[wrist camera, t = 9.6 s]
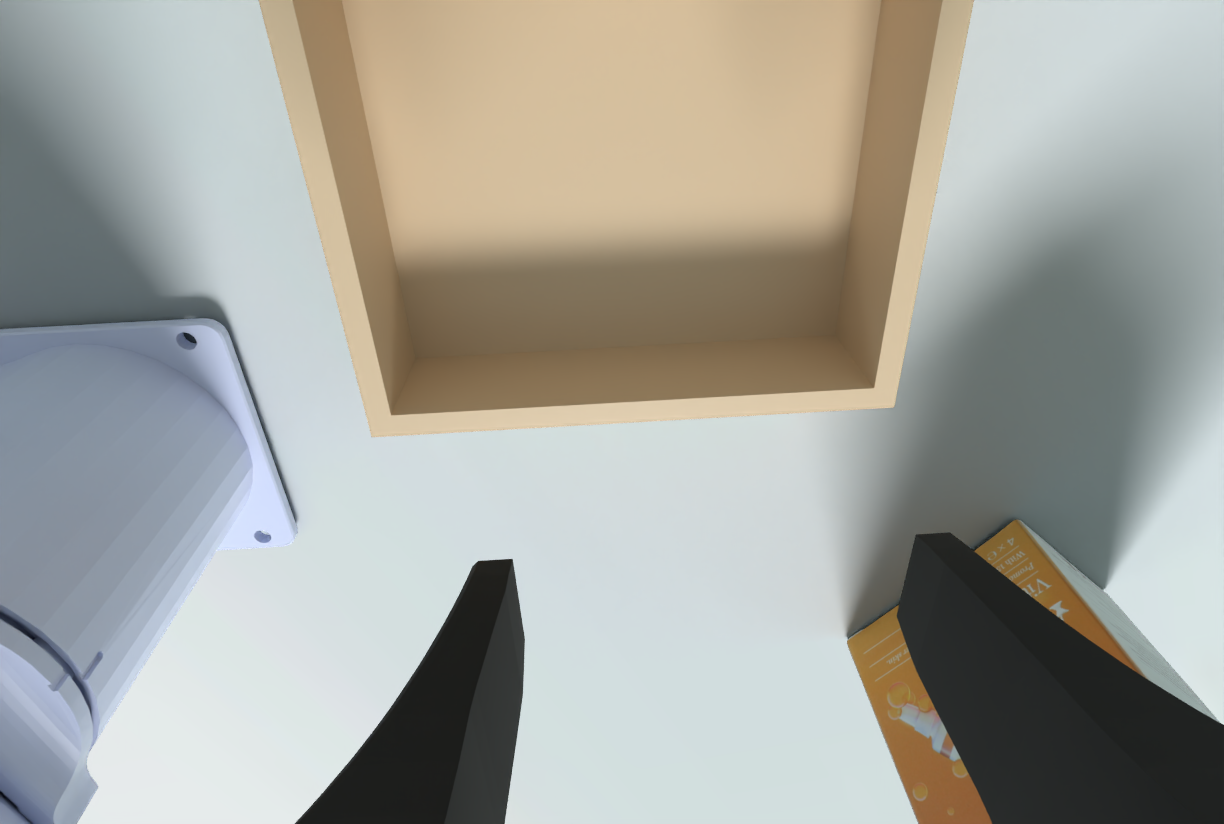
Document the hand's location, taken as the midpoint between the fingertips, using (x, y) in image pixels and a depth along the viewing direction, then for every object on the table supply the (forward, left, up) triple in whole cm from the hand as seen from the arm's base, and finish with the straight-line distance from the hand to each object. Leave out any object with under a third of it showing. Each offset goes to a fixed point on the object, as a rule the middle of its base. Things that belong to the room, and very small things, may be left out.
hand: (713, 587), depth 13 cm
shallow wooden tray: (-1, +6, -9) cm, 11 cm away
